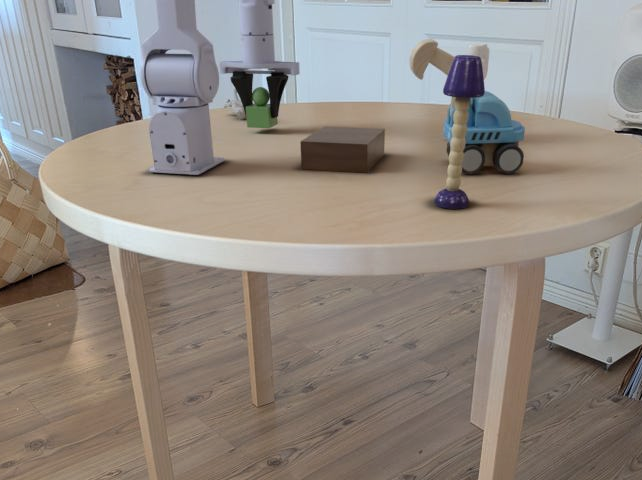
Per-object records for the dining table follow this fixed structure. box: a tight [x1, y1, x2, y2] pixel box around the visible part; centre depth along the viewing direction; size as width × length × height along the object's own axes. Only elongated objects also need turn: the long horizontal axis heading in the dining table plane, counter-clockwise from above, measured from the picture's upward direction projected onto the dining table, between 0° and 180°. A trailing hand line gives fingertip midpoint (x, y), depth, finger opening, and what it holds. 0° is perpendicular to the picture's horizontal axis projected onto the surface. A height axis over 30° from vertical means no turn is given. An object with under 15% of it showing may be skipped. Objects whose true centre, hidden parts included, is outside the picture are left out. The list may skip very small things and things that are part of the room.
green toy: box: [246, 86, 279, 129], centre depth 121 cm, size 4×4×7 cm
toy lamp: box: [433, 54, 486, 210], centre depth 77 cm, size 5×5×17 cm
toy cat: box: [223, 88, 254, 120], centre depth 134 cm, size 8×5×12 cm
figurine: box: [467, 43, 490, 80], centre depth 112 cm, size 7×9×15 cm
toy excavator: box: [409, 38, 526, 175], centre depth 93 cm, size 9×17×17 cm, turn 91°
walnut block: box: [300, 125, 386, 174], centre depth 100 cm, size 12×10×4 cm
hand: (262, 116), depth 122 cm, fingers closed on green toy, 4 cm apart
